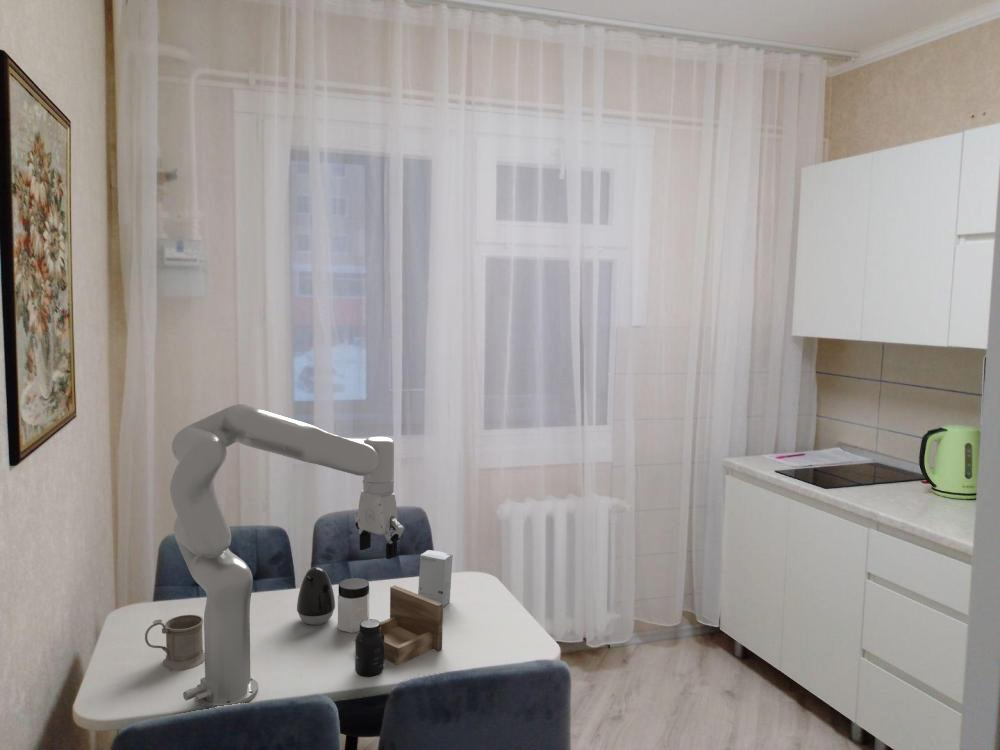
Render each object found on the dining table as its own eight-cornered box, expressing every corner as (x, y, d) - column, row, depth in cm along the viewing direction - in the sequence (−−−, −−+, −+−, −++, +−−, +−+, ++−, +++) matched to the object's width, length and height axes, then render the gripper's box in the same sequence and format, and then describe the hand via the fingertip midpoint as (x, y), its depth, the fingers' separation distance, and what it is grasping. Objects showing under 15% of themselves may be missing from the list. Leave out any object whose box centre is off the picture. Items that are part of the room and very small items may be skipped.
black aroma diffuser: (289, 626, 201) (289, 572, 199) (308, 611, 211) (308, 559, 210) (324, 631, 199) (324, 576, 197) (341, 615, 209) (341, 563, 207)
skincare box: (417, 604, 218) (417, 555, 216) (426, 596, 223) (427, 548, 222) (443, 609, 215) (444, 559, 213) (452, 601, 220) (452, 552, 219)
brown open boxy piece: (403, 668, 180) (403, 620, 179) (355, 644, 191) (355, 599, 190) (442, 649, 190) (442, 604, 189) (394, 628, 202) (394, 585, 200)
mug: (193, 646, 188) (192, 601, 187) (214, 659, 182) (213, 612, 181) (136, 667, 177) (134, 619, 176) (155, 681, 171) (154, 631, 170)
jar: (343, 635, 196) (343, 591, 195) (332, 624, 203) (332, 581, 202) (375, 628, 201) (375, 585, 200) (363, 617, 208) (363, 575, 207)
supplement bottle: (349, 673, 177) (349, 625, 176) (366, 661, 183) (367, 614, 182) (372, 681, 174) (372, 631, 173) (389, 668, 180) (390, 620, 179)
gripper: (344, 483, 189) (343, 549, 190) (391, 495, 178) (391, 565, 180) (366, 478, 195) (366, 542, 196) (413, 490, 184) (413, 557, 186)
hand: (378, 553), depth 188 cm, fingers open, 9 cm apart
